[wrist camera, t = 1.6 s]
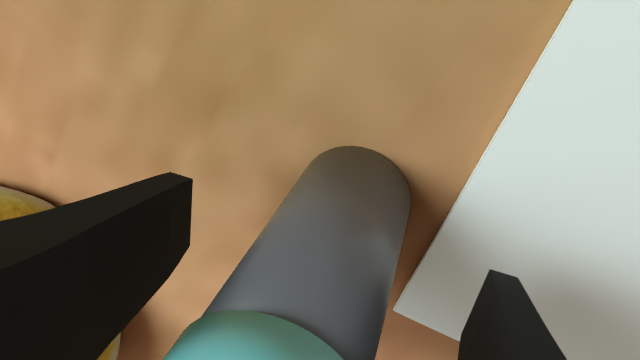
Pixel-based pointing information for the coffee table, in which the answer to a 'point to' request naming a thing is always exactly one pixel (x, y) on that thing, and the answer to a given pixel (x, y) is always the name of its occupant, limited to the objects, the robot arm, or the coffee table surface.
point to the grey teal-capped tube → (313, 269)
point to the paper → (555, 196)
